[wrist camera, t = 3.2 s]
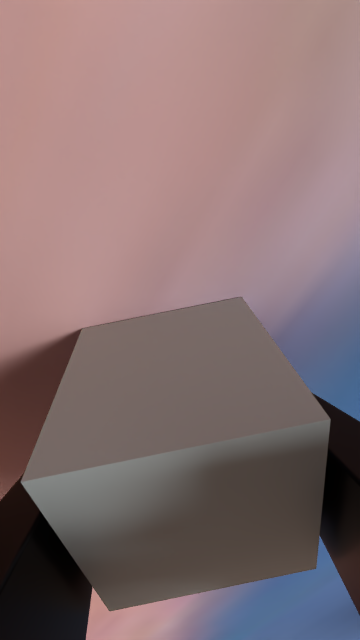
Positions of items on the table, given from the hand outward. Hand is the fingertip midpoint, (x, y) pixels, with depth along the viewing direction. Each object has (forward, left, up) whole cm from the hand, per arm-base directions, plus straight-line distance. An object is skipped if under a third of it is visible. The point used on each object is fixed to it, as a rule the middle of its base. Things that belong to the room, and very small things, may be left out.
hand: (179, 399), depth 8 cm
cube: (0, 0, -1) cm, 1 cm away
